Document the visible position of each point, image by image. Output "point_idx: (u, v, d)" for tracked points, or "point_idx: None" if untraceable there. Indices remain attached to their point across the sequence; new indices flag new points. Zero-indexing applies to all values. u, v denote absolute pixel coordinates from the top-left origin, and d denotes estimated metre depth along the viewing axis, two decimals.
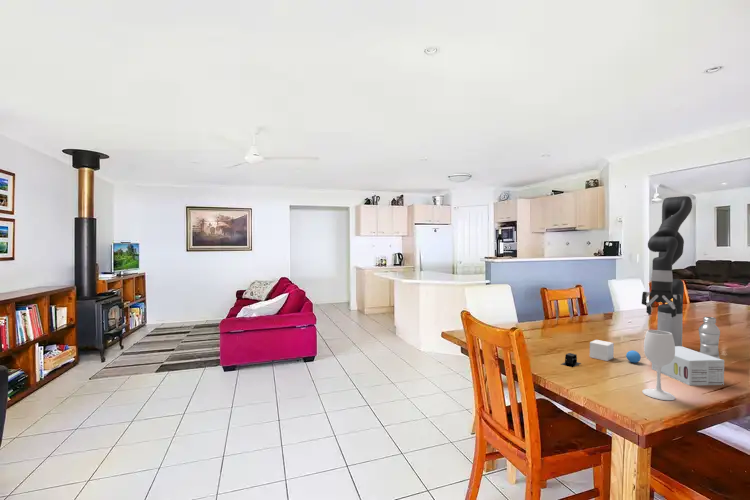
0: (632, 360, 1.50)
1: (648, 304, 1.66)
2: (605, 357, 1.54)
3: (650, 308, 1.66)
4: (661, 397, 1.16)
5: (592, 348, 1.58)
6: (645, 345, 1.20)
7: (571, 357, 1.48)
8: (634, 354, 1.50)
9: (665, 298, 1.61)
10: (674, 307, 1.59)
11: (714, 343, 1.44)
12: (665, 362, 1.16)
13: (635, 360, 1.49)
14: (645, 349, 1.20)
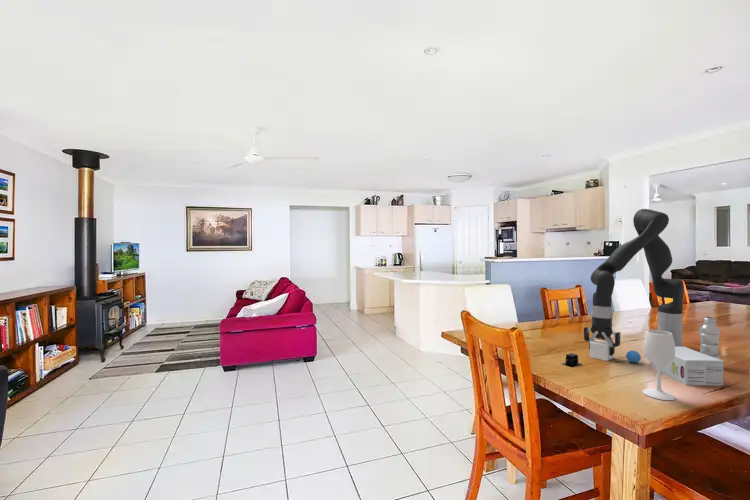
0: (632, 360, 1.50)
1: (590, 341, 1.60)
2: (605, 357, 1.54)
3: None
4: (661, 397, 1.16)
5: (592, 348, 1.58)
6: (645, 345, 1.20)
7: (571, 357, 1.48)
8: (634, 354, 1.50)
9: (604, 335, 1.55)
10: (612, 345, 1.54)
11: (714, 343, 1.44)
12: (665, 362, 1.16)
13: (635, 360, 1.49)
14: (645, 349, 1.20)
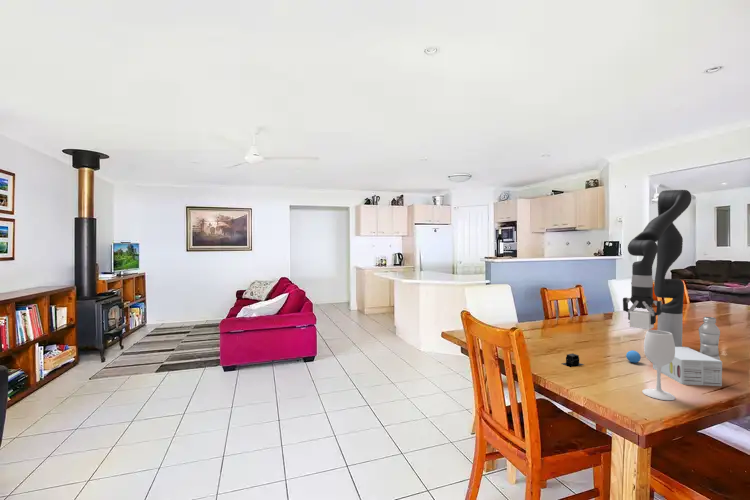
0: (632, 360, 1.50)
1: (630, 311, 1.60)
2: (646, 326, 1.53)
3: None
4: (661, 397, 1.16)
5: (632, 318, 1.57)
6: (645, 345, 1.20)
7: (571, 357, 1.48)
8: (634, 354, 1.50)
9: (645, 304, 1.55)
10: (653, 314, 1.54)
11: (714, 343, 1.44)
12: (665, 362, 1.16)
13: (635, 360, 1.49)
14: (645, 349, 1.20)
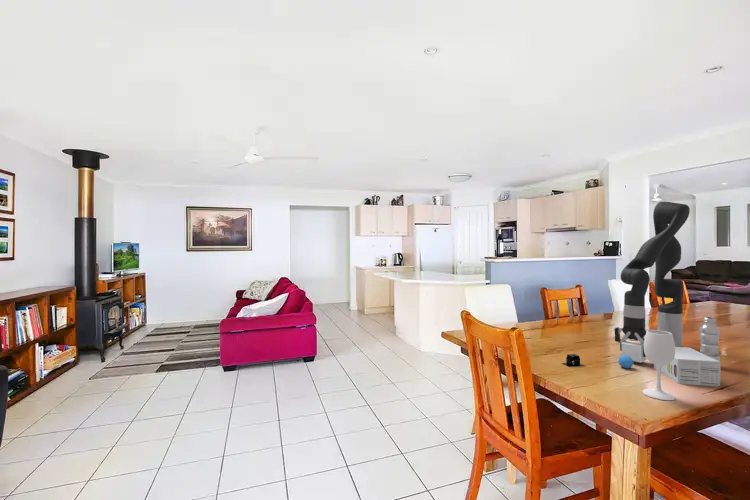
0: None
1: (622, 342, 1.54)
2: (638, 359, 1.47)
3: None
4: (661, 397, 1.16)
5: (624, 349, 1.51)
6: (645, 345, 1.20)
7: (571, 357, 1.48)
8: None
9: (637, 336, 1.49)
10: None
11: (714, 343, 1.44)
12: (665, 362, 1.16)
13: (629, 357, 1.44)
14: (645, 349, 1.20)
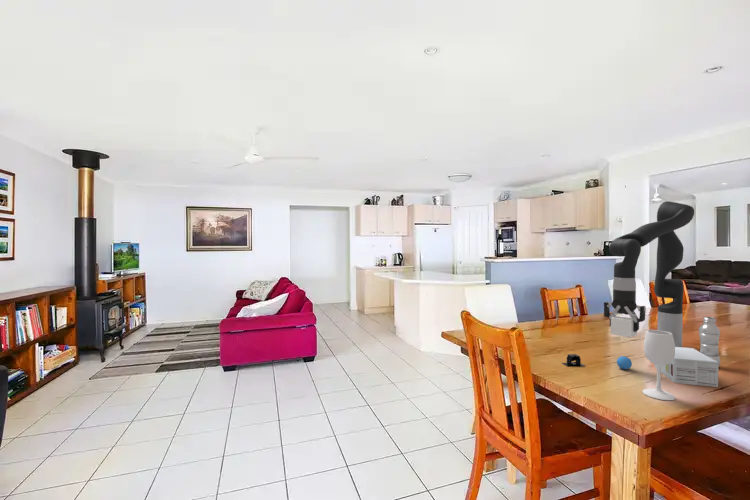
0: (624, 357, 1.43)
1: (611, 316, 1.46)
2: (628, 333, 1.39)
3: None
4: (661, 397, 1.16)
5: (613, 324, 1.43)
6: (645, 345, 1.20)
7: (570, 357, 1.48)
8: None
9: (627, 309, 1.41)
10: (636, 320, 1.39)
11: (714, 343, 1.44)
12: (665, 362, 1.16)
13: (626, 359, 1.42)
14: (645, 349, 1.20)
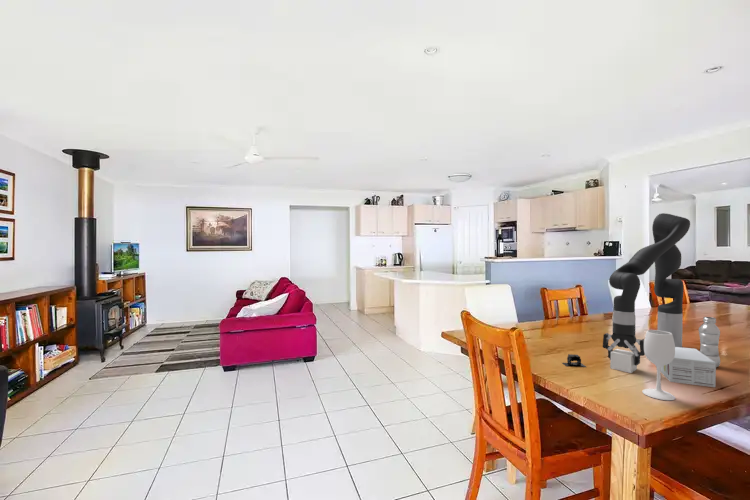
0: None
1: (609, 348, 1.47)
2: (628, 369, 1.40)
3: None
4: (661, 397, 1.16)
5: (613, 358, 1.44)
6: (645, 345, 1.20)
7: (570, 357, 1.48)
8: None
9: (627, 343, 1.41)
10: (637, 354, 1.39)
11: (714, 343, 1.44)
12: (665, 362, 1.16)
13: None
14: (645, 349, 1.20)
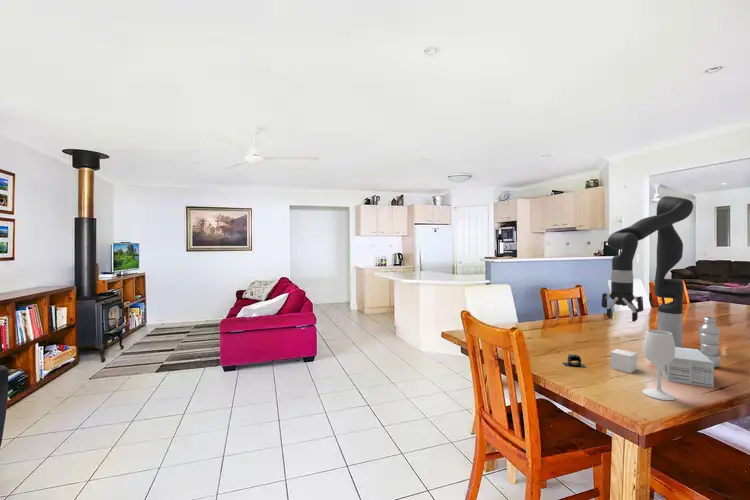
0: None
1: (608, 307, 1.52)
2: (628, 369, 1.40)
3: (610, 311, 1.52)
4: (661, 397, 1.16)
5: (613, 358, 1.44)
6: (645, 345, 1.20)
7: (570, 357, 1.48)
8: None
9: (625, 301, 1.46)
10: (635, 310, 1.44)
11: (714, 343, 1.44)
12: (665, 362, 1.16)
13: None
14: (645, 349, 1.20)
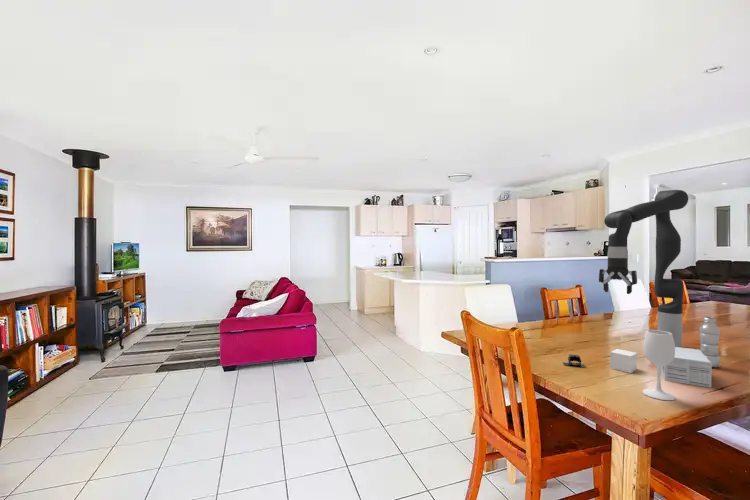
0: None
1: (605, 281, 1.64)
2: (628, 369, 1.40)
3: (607, 285, 1.64)
4: (661, 397, 1.16)
5: (613, 358, 1.44)
6: (645, 345, 1.20)
7: (569, 357, 1.48)
8: None
9: (620, 275, 1.58)
10: (629, 283, 1.56)
11: (714, 343, 1.44)
12: (665, 362, 1.16)
13: None
14: (645, 349, 1.20)
